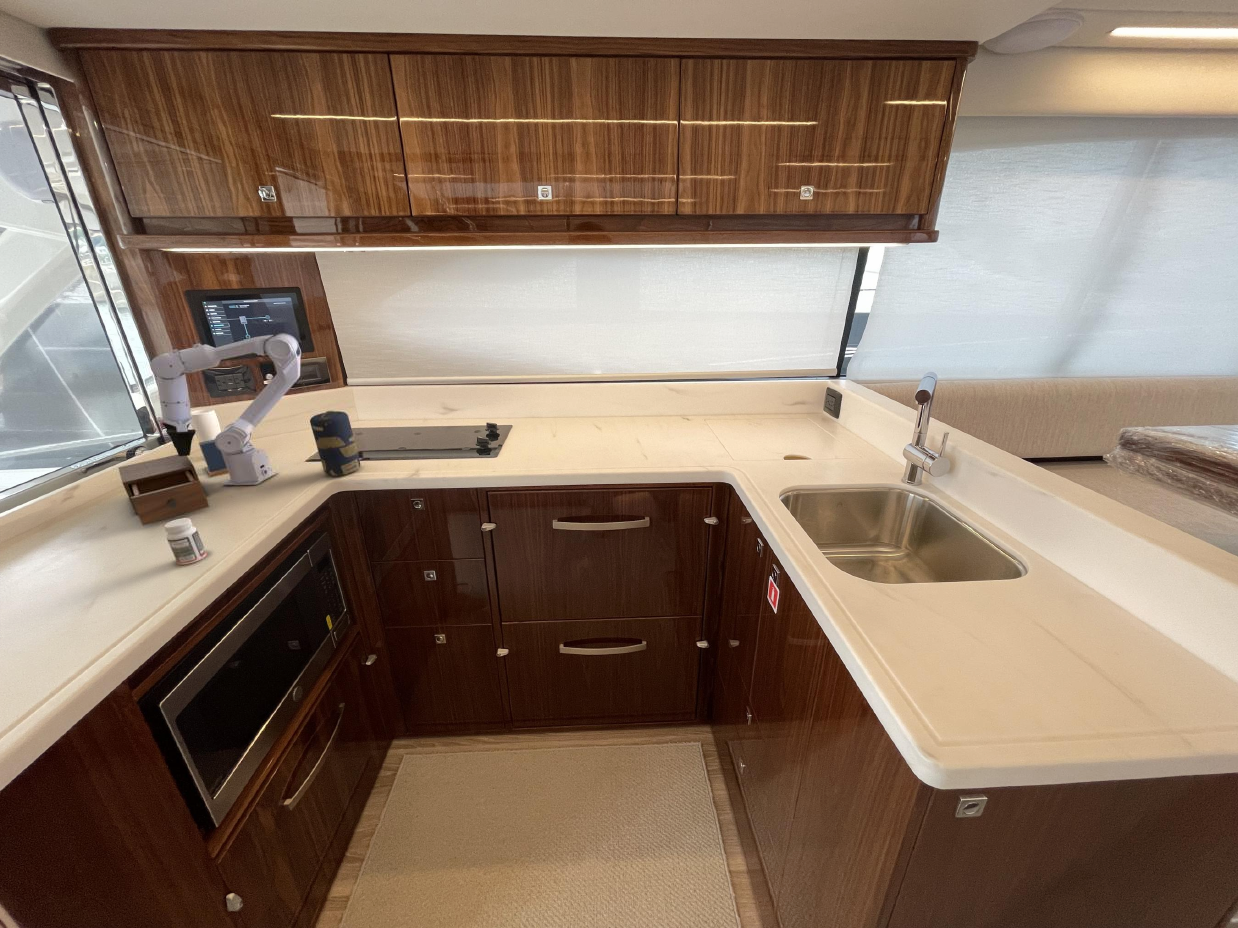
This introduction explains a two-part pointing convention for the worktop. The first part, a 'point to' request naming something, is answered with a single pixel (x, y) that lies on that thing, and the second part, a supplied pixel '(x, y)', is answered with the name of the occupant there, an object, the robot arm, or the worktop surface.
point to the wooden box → (154, 471)
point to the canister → (335, 442)
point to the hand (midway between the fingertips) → (182, 451)
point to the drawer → (167, 497)
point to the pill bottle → (184, 541)
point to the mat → (217, 472)
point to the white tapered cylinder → (205, 424)
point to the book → (212, 456)
